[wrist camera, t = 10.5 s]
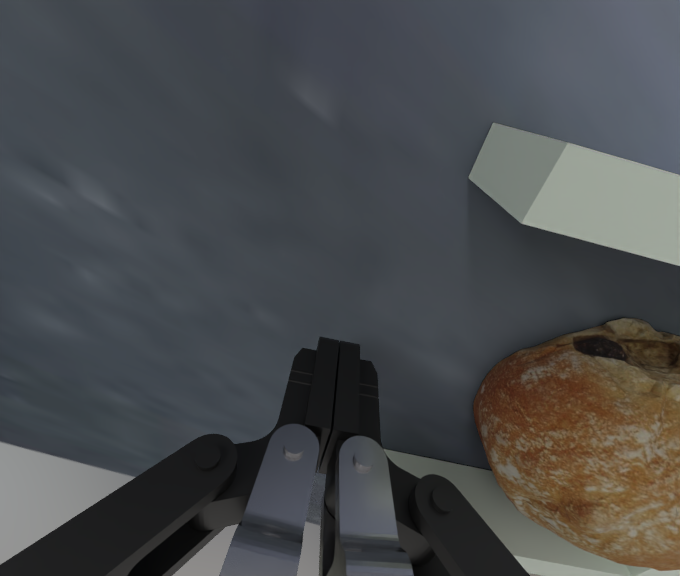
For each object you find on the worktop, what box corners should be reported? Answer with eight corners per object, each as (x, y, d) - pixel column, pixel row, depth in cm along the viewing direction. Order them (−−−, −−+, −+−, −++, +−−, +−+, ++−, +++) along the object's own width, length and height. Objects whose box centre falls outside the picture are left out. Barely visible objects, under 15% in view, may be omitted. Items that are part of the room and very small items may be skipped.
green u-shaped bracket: (493, 122, 9) (568, 142, 6) (952, 256, 10) (1235, 337, 7) (342, 457, 19) (337, 538, 15) (591, 507, 20) (638, 592, 17)
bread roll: (652, 281, 16) (901, 317, 8) (688, 474, 16) (947, 680, 9) (446, 324, 18) (480, 386, 10) (486, 493, 19) (548, 672, 11)
